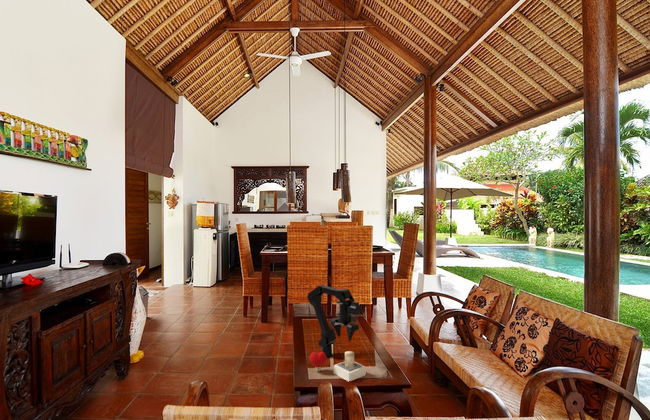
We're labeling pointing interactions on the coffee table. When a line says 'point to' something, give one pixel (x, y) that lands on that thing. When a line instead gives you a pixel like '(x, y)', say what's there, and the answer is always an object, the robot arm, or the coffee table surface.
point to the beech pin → (349, 359)
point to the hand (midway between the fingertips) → (344, 339)
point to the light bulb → (318, 359)
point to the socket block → (349, 371)
